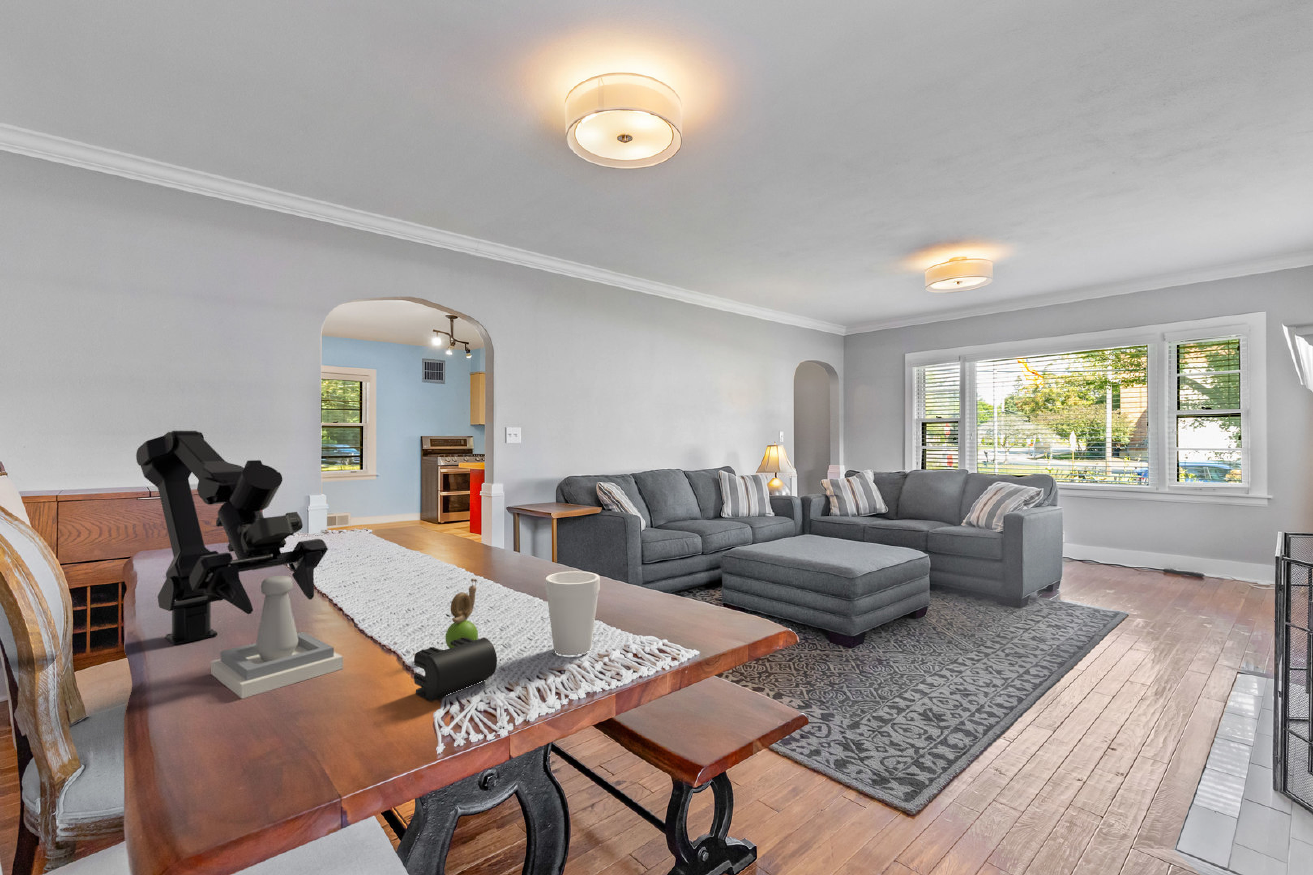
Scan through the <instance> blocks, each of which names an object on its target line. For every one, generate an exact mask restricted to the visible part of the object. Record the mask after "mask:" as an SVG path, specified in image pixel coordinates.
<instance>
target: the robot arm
mask: <svg viewBox="0 0 1313 875" xmlns="http://www.w3.org/2000/svg"><path fill="white" fill-rule="evenodd" d="M135 456H136V463H137V465H138V466H140V468H141V471H142V474H143V477H144V478H145V479H146V480H147V481H148V482H150V483H151V484H153V485H154V486H155V487H156V488H157V491H158V495H159V499H160V503H161V507H162V512H163V516H164V520H165V524H166V529H167V535H168V537H169V542H170V547H171V551H172V556H173V557H172V560H171V562H170V564H169V566H168V568H167V570H166V572H165V581H164V583H163V584H162V586H161V589H160V591H159V593H158V595H157V601H158V607H159V609H162V610H165V611H168V612H171V633H166V634H165V638H166V639H167V641H169V642H170V643H172V644H173V645H181V644H184V643H190V642H193V641H198V640H202V639H208V638H212V637H216V636H218V632H217V631H216V630H214V629H213V628H211V627H212V626H211V623H212V620H211V619H212V612H211V611H212V610H211V609H212V603H213V602H218V601H219V602H220V601H226V602H228V603H230V604H232V605H233V606H235V607H236V608H238V609H239V610H240V611H242V612H244V613H245V614H247V615H250V614H252V613H253V611H254V608H253V605H252V602H251V600H250V598H249V596H248V593H247V591H246V589H245V587H244V585H243V583H242V582H241V579H240V573H241V572H247V571H259V570H262V569H263V570H264V569H268V568H273V567H274V568H275V567H279V566H285V565H288V566H289V568H290V570H291V571H293V573H292V577H293V579H294V581H295V583H296V584H297V586H298V587H299V588H300V590H301V592H302V593H303V595H304V596H305V597H306V598H307V600H309V601H310V600H313V598H315V582H314V581H315V580H314V579H315V578H314V570H315V568H317V567H318V565H319V564H320V563H321V561H322V559H323V558H324V556H325V555H326V553H327V551H328V550H329V548H328V546H327V544H326V542H325V541H324V539H321V538H314V539H307V540H301V541H298V542H297V543H296V545H295V547H294V548H293V550H291V551H285V552H282V551H281V549H282V548H284V547H285V546H286V544H287V541H286V539H287V538H289V537H290V536H294V534H296V533H297V532H299V531H300V530H302V529H303V526H304V524H303V520H302V518H301V516H300V515H299V513H298V512H297V511H294V512H293V511H292V512H286V513H285V515H284V514H283V515H277V516H268V517H264V515H263V513H262V511H263V510H265V509H267V508H268V507H269V506H270V505H271V503H272V501H273V499H274V497H275V495H276V493H277V492H278V491H279V488H280V486H281V485H282V483H283V476H282V473H281V472H279V471H278V470H277V469H275V468H274V467H272V466H269V465H267V464H266V465H265V464H263V461H261V459H258V460H254V459H253V460H252V459H251V460H247V461H246V463H245V464H244V467H243V466H242V465H239V464H234V463H231V462H228V461H225V459H224V458H223V457H222V456H221V455H220V454H219V453H218V452H217V451H216V450H215V448H213V447H212V446H211V445H210V444H209V443H208V442H207V441H206V439H205V437H204V434H203V432H201V431H197V430H172V431H168V432H166V433H165V434H164V435H162V436H158V437H156V438H152V439H151V438H150V439H149V440H146V441H144V442H143V443H142V445H141V444H140V446H139V447H138V448H137V450H136V455H135ZM191 474H193V475H194V476H195V477H196V478H197V481H198V482H197V488H196V492H197V493H198V496H199V498H200V499H202V501H203V503H205V504H206V505H221V504H222V505H221V506H220V508H219V509H218V511H217V516H218V517H217V518H216V521H215V522H216V523H215V526H216V527H218V528H219V527H223V530H224V532H225V534H226V537H227V538H228V539H227V540H228V541H229V542H228V545H227V550H228V552H221V553H219V552H218V551H217V550H212V551H211V550H210V549H208V548H206V545H205V542H204V538H203V533H202V529H201V526H200V522H199V517H198V513H197V509H196V504H195V501H194V496H193V492H192V489H191V484H190V481H189V478H190V476H191ZM231 552H234V555H235V556H236V559H234V558H233V556H232V554H231Z"/></svg>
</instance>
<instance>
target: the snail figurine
mask: <svg viewBox="0 0 1313 875" xmlns="http://www.w3.org/2000/svg"><path fill="white" fill-rule="evenodd" d="M470 581H471V582H472V584H471V585H470V586H469V587H468V593H469V594H468V593H466V592H458V593H457V594H456V595H454V597H453V598H452V600H451V603H450V613H451V615H452V616H453V618H452V619H451V620H452V622H453V623H451V624H450V625H449V627H448V628H447V630H446V632H445V638H444V640H445V643H446V645H447V647H448V649H449V648H453V647H456V646H453V645H450V642H451V641H454V640H458V639H461V638H462V637H463V638H464V637H466V638H469V639H471V640H474V641H475V640H478V639H479V631H478V628H477V627H476V625H475V623H473V622H472V621H470V620H468V619H469V617H470V616H471V615H472V613H473V611H474V606H475V604H476V603H475V601H476V592H477V582H478V579H477V578H471V579H470ZM474 582H475V585H473V584H474Z"/></svg>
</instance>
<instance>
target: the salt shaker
mask: <svg viewBox="0 0 1313 875" xmlns="http://www.w3.org/2000/svg"><path fill="white" fill-rule="evenodd" d="M293 582H294V581H293V578H292V577H290V576H288V575H287V576H286V575H275V576H270V577H267V578H265V579H264V580H262V581H261V585H260V590H261V593H262V595H264V596H265V597H264V602H263V605H262V611H261V617H260V622H259V626H258V627H259V628H258V631H257V632H258V633H257V636H256V642H255V643H256V650H257V653H258V654H259V655H260V657H261V659H262V661H264V662H268V661H272V660H276V659H280V658H284V657H287V656H291V655H292V654H293V652H294V650H295V648H296V646H297V645H298V636H297V633H298V632H297V626H296V623H295V622H296V621H295V618H294V613H293V608H292V604H291V600H290V595H289V592H290V591H292V590H293V586H294V585H293V584H294V583H293Z"/></svg>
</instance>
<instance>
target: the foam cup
mask: <svg viewBox="0 0 1313 875" xmlns="http://www.w3.org/2000/svg"><path fill="white" fill-rule="evenodd" d="M544 582H545V586H544V587H545V593H546V597H547V606H548V613H549V621H550V622H549V623H550V629H551V636H552V638H551V639H552V644H553V645H552V646H553V650H554V651H556V653H558V654H561V655H578V654H582V653H586V652H587V651H590V652H591V650H590V648H592V643H593V636H594V635H593V634H594V628H595V620H596V614H597V605H598V599H599V593H600V592H599V591H601V585H600V584H601V576H600V575H599V574H598V573H595V572H589V571H582V570H581V571H579V570H577V571H574V570H572V571H571V570H570V571H561V572H555V573H552V574H548V575H547V576H546V577H545V581H544Z"/></svg>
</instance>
